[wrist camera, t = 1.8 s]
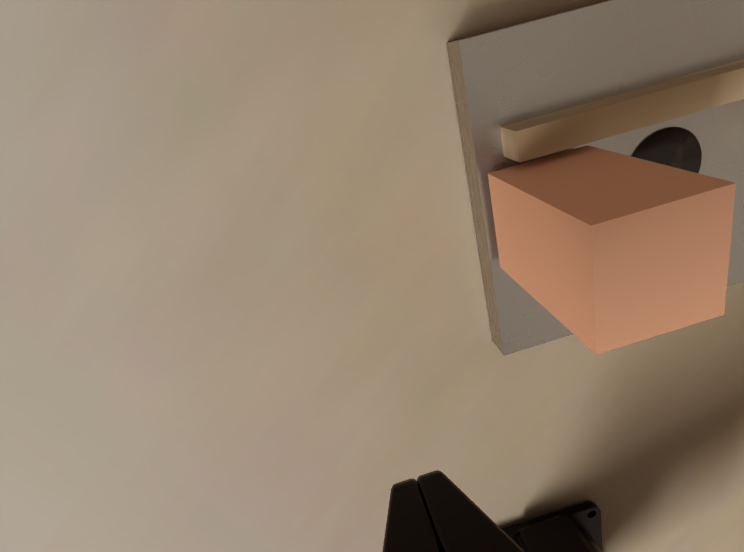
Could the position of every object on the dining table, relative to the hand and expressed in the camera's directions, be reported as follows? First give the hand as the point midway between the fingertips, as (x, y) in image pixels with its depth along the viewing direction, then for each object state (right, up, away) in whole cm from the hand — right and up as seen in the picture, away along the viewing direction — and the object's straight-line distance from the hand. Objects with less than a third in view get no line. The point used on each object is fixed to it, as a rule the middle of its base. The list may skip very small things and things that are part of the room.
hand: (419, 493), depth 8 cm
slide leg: (+5, +6, +9) cm, 12 cm away
